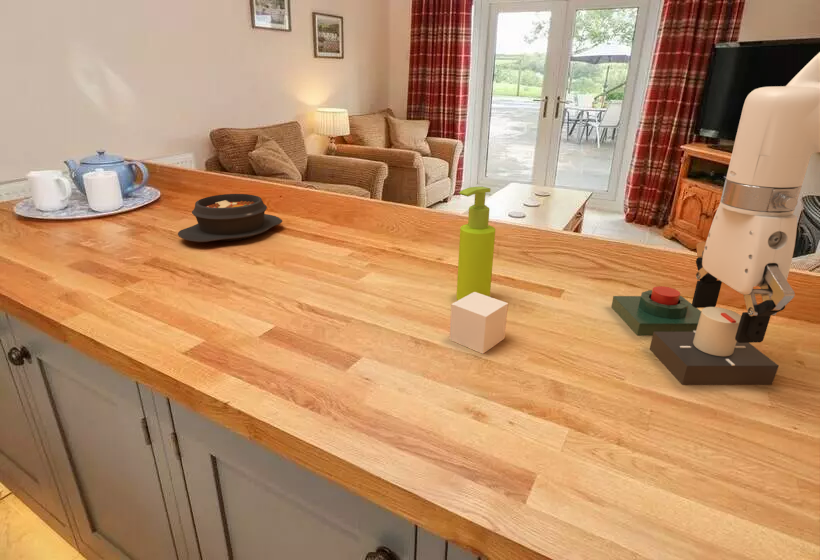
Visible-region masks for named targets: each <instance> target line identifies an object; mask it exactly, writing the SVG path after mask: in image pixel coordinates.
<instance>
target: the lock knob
mask: <svg viewBox="0 0 820 560" xmlns="http://www.w3.org/2000/svg"><path fill="white" fill-rule="evenodd" d="M700 311H701V315H700V318H699V322H698V326H697V329H696V333H695V337H694V340H693V344H694V346H695V347H696V348H697V349H699V350H701V351H703V352H705V353H708V354H711V355H715V356H730V355H732V354H733V352H734V348H735V345H736V342H737V341H736V340H735V336H736V333H737V329H738V326H739V322H740V319H741V315H742V314H739V313H738V312H736V311H734V310H731V309H728V308H724V307H718V306H715V307H706V308H701V310H700Z"/></svg>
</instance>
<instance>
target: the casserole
mask: <svg viewBox="0 0 820 560" xmlns="http://www.w3.org/2000/svg"><path fill="white" fill-rule="evenodd" d="M267 209H268V206H267V205H266V204H265V203H264V202H263V199H262V197H260V196H258V195H254V194H249V193H248V194H247V193H225V194H217V195H216V194H215V195H211V196H206V197H203V198H201V199H198V200H197V201H196V202H195V203H194V207H193V209H192V210H191V215H193V216H194V217H195V219H196V222H197V223H196V224H194V225H191V226H189V227H186V228H183V229H180V230H179V231H178V232H177V236H178V237H179V238H180V239H182V240H186V241H188V242H195V243H209V242H217V241H222V242H231V241H233V242H234V241H240V240H245V239H249V238H253V237H256V236H257V235H260V234H263V233H265V232H267V231H269V230H270V229H271V228H274V227H276V226H279V225H281V224H282V223H283V219H281V218H280V217H279V216H276V215H273V214H267V213H265V212H266V211H267Z"/></svg>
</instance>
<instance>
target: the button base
mask: <svg viewBox="0 0 820 560" xmlns="http://www.w3.org/2000/svg"><path fill="white" fill-rule="evenodd" d="M652 290H653V289H649V290H646V291H642V292H641V295H613V296H612V301H611V305H610V306H611V309H612V310H613V311H614V312H615V313H616V314H617V315H618V317H619V318H620V319H621V320H622V321H623V322H624V323H625V324H626V325H627V326H628V327H629V329H630V330H631V331H632V332H633V333H634V334H635V335H636V336H637V337H638V336H641V337H642V336H643V337H645V336H646V337H650V336H652V337H653V332H693V331H696V329H697V326H698V322H699V318H700V315H701V311H702V310H701V309H700V308H695V307H693V306H692V302H690V301H689V300H688V299H686V298H685V297H684V296H682V295H680V297H679V301H678V304H677V305H665V304H660V303H657V302H655V301H652V300H651V294H652Z"/></svg>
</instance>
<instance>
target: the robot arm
mask: <svg viewBox="0 0 820 560" xmlns="http://www.w3.org/2000/svg"><path fill="white" fill-rule="evenodd" d="M740 114H741V115H740V119H739V123H738V126H737V130H736V131H737V132H736V135H735V139H734V143H733V149H732V153H731V157H730V161H729V164H728V169H727V173H726V177H725V181H724V184H723V189H722V193H721V197H720V202H719V205H718V207H717V209H716V212H715V214H714V217H713V219H712V222H711V225H710V228H709V231H708V234H707V237H706V240H705V241H701V242H698V243H696V260H695V264H696V268H697V271H696V273H695V278H696V283H695V287H694V293H693V296H692V301H691V304H692V306H693V307H695V308H697V309H703V308H706V307H717V304H718V298H719V296H720V292H721V288H722V284H724V285H726V286H727V287H729V288H731V289H732V290H734V291H736V292H737V293H739V294H741V295H743V299H744V304H745V307H746V311H743V312H742V313H741V314H740V315H741V319H740V322H739V326H738V329H737V333H736V336H735V340H736V341H737V342H739V343H750V344H753V343H754V344H755V343H757V344H758V343H762V342H763V341H764V340H765V339H764V338H765V336H766V332H767V330H768V326H769V323H770V319H771V317H774V316H776V315H777V314H778V313H779V312H781V311H784V310H785V309H786V306H787V305H788V304H789V303H790V302H791V301H792V300H793V299H794V298H795V296H796V293H795V291H794V289H793V288H792V285H790V283H789V281H788V277H789V275H790V274H789V273H790V269H791V265H792V262H793V256H794V251H795V247H796V239H797V230H798V229H797V228H798V216H797V215H796V214H795V213H794V212H795V210H796V207H797V205H798V203H799V201H798V200H799V197H800V194H801V190H802V186H803V183H804V181H805V177H806V173H807V170H808V166H809V163H810V160H811V157H812V155H814V154H816V153H818V154H819V153H820V51H819V52H818V53H817V54H816V55H814V57H813V58H812V59H811V60H810V61H808V63H806V65H804V67H803V68H802V69H800V71H799V72H797V74H795V76H794V77H793V78H791V80H790V81H789V82H788V83H787V84H786V85H783V86H782V85H780V86H778V85H777V86H776V85H775V86H762V87H758V88H754V89H753V90H751V92H749V93H748V94H747V96H746V98H745V100H744V103H743V106H742V110H741V113H740ZM754 287H758V288H754ZM757 297H761V299H762V302H760V303H757V299H756V298H757Z"/></svg>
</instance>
